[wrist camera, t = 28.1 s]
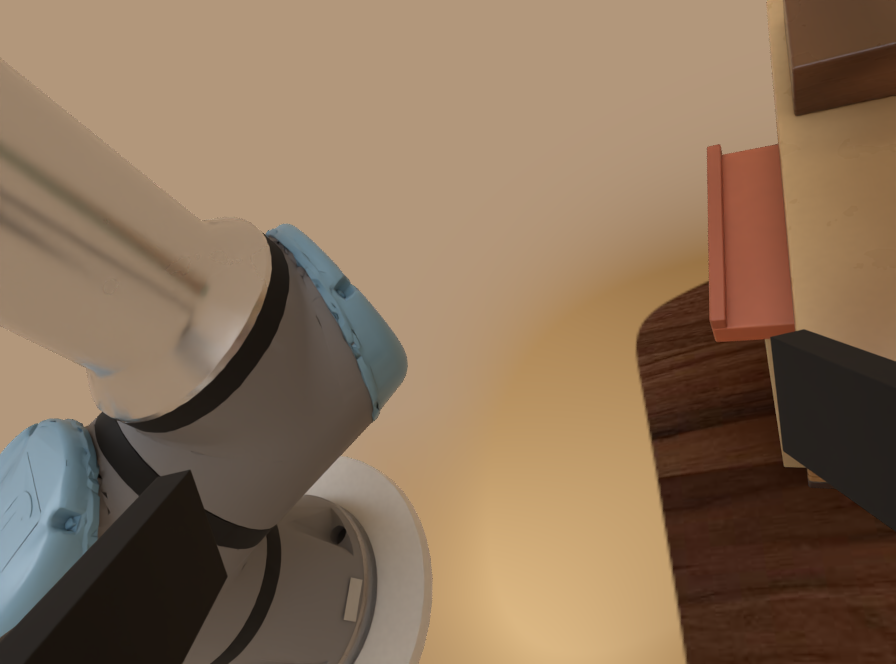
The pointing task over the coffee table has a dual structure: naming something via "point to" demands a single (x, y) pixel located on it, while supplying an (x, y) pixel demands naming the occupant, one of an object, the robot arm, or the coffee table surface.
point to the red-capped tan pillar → (748, 252)
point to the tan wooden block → (838, 166)
